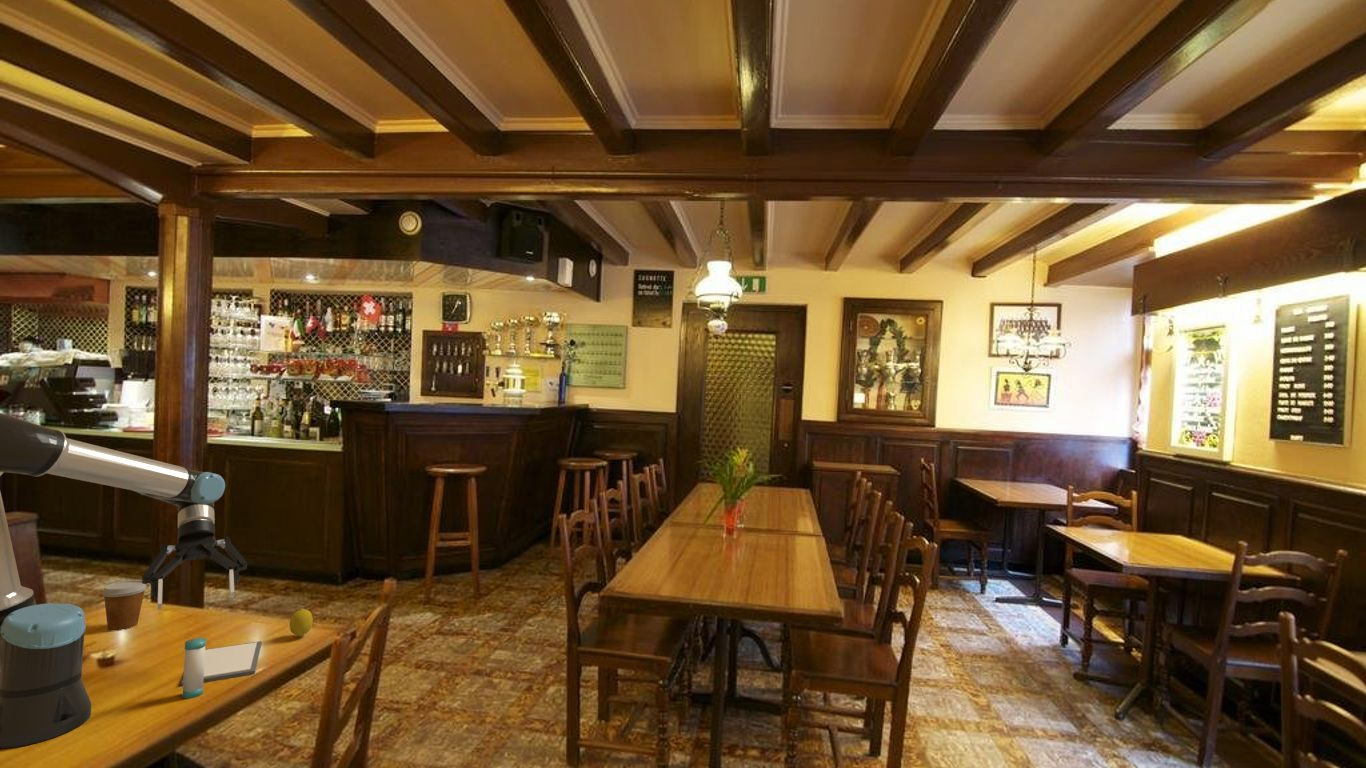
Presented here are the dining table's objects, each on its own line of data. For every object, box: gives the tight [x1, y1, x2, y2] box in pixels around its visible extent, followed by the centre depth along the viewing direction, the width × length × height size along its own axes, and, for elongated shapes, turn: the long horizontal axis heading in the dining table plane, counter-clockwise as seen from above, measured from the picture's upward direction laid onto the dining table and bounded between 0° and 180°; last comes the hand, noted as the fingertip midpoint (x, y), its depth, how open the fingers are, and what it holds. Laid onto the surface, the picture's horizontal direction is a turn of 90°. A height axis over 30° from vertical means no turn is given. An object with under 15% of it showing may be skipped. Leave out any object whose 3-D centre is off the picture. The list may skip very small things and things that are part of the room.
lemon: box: [289, 607, 314, 638], centre depth 170 cm, size 6×6×8 cm
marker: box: [182, 637, 207, 700], centre depth 137 cm, size 4×4×12 cm
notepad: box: [180, 640, 263, 687], centre depth 152 cm, size 14×20×1 cm
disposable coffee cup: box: [101, 579, 148, 631], centre depth 173 cm, size 10×10×12 cm
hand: (196, 600), depth 146 cm, fingers open, 13 cm apart
